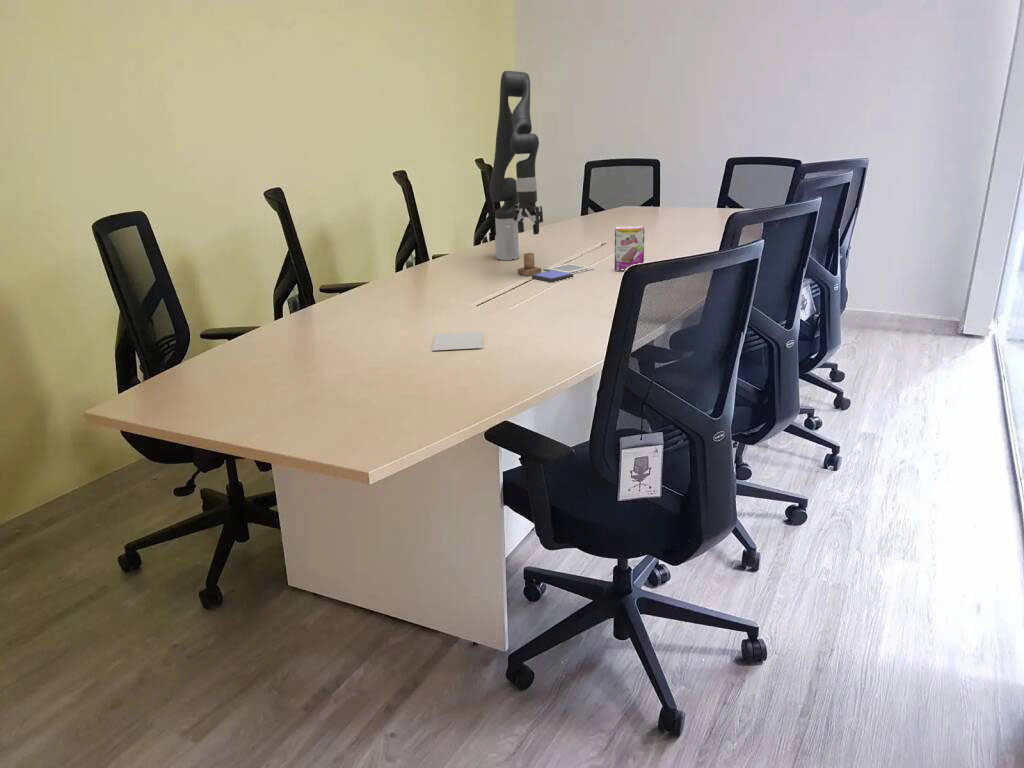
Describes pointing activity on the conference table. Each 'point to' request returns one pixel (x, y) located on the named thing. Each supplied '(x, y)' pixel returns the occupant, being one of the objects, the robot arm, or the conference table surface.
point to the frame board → (568, 268)
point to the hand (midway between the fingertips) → (528, 233)
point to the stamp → (529, 266)
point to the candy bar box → (628, 246)
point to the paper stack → (457, 341)
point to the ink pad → (552, 276)
